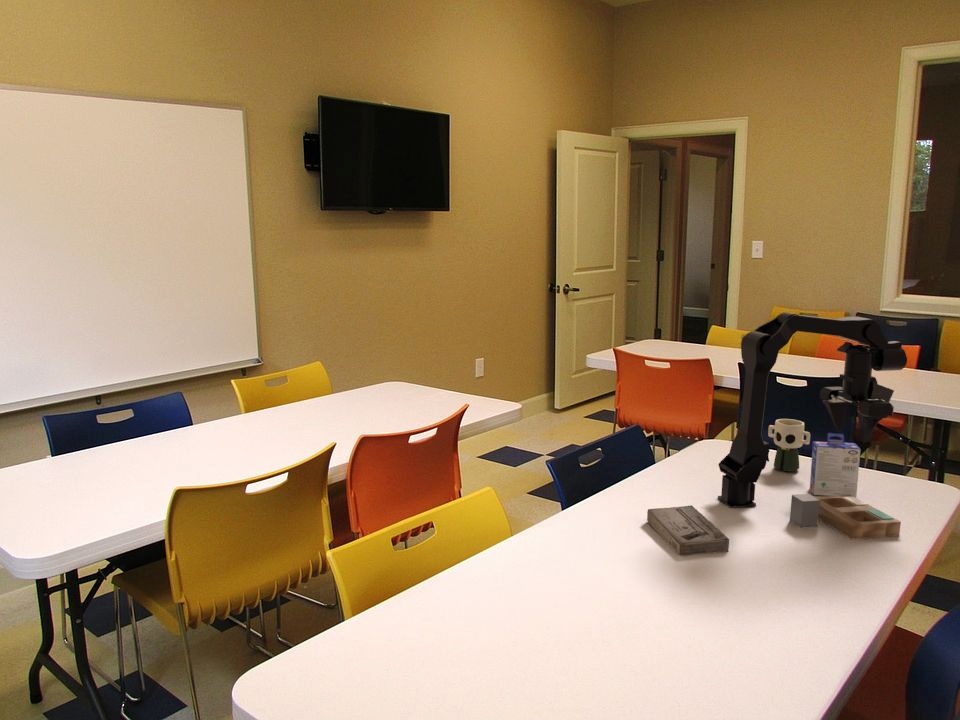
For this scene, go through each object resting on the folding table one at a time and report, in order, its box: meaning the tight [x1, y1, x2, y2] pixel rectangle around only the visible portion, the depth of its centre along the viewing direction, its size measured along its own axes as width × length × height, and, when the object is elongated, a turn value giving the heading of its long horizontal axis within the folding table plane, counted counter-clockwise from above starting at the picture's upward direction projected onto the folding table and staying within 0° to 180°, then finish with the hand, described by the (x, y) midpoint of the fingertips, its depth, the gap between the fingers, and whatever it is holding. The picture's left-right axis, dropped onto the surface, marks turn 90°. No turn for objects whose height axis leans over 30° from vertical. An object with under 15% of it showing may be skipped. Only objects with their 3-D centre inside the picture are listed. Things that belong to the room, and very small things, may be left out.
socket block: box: [814, 495, 902, 540], centre depth 160 cm, size 11×16×3 cm
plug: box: [789, 493, 820, 529], centre depth 159 cm, size 4×4×6 cm
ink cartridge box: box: [809, 432, 861, 498], centre depth 177 cm, size 10×6×14 cm, turn 78°
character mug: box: [767, 418, 811, 472], centre depth 195 cm, size 11×7×13 cm, turn 45°
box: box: [646, 505, 730, 556], centre depth 153 cm, size 11×17×3 cm, turn 10°
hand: (851, 436), depth 174 cm, fingers open, 9 cm apart
